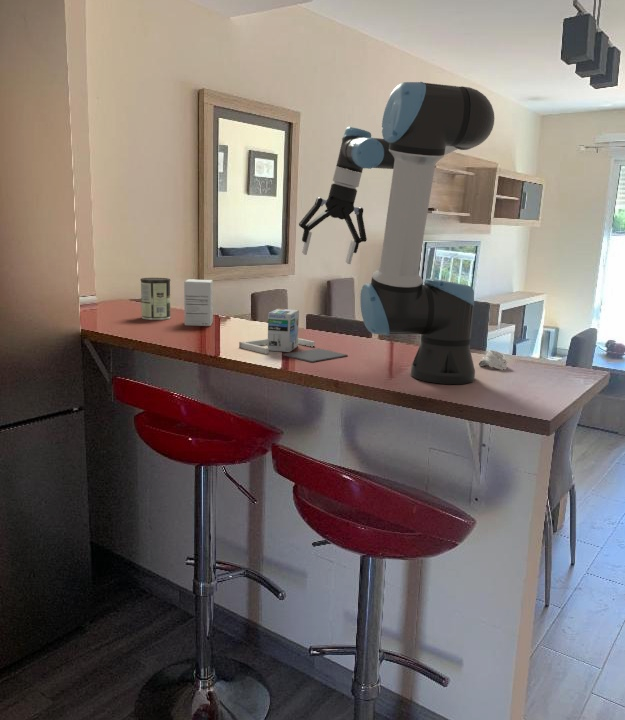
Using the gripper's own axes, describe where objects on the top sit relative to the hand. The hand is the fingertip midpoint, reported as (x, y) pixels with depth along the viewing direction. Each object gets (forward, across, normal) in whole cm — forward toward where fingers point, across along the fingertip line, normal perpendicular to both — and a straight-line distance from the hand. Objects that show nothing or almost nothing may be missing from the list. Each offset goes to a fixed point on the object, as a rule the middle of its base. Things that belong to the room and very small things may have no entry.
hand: (326, 258), depth 187 cm
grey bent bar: (+27, +10, +8) cm, 30 cm away
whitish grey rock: (+14, -41, +37) cm, 57 cm away
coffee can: (+41, +42, -47) cm, 76 cm away
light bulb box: (+26, +9, +10) cm, 30 cm away
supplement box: (+37, +28, -34) cm, 58 cm away
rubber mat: (+23, +2, +21) cm, 31 cm away
